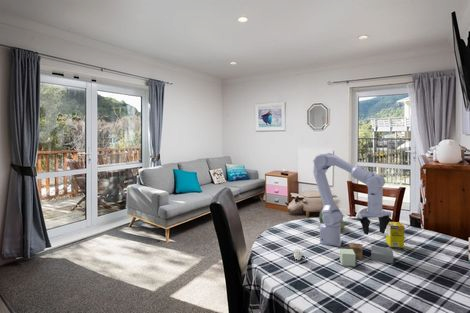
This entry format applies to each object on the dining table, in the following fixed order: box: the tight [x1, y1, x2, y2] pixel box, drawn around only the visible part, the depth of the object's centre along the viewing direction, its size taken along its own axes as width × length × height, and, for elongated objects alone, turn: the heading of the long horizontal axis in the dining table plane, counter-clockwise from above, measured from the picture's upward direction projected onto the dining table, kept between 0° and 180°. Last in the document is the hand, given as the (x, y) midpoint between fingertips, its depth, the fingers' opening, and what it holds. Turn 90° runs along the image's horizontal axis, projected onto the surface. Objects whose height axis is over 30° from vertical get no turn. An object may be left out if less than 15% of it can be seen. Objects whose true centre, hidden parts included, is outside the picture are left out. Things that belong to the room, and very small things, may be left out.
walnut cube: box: [349, 242, 364, 261], centre depth 117 cm, size 5×5×5 cm
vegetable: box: [319, 209, 346, 230], centre depth 154 cm, size 12×13×15 cm
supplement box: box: [385, 221, 405, 250], centre depth 127 cm, size 6×6×11 cm
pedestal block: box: [370, 245, 394, 265], centre depth 116 cm, size 8×8×4 cm
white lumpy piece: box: [293, 249, 307, 261], centre depth 116 cm, size 9×8×4 cm
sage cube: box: [339, 248, 356, 267], centre depth 111 cm, size 5×5×5 cm
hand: (374, 233), depth 118 cm, fingers open, 7 cm apart
